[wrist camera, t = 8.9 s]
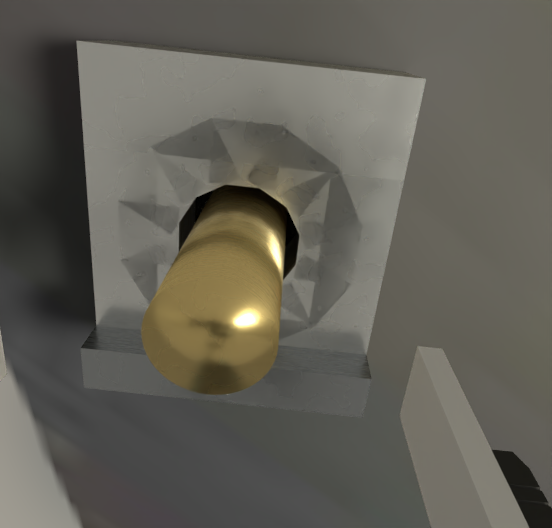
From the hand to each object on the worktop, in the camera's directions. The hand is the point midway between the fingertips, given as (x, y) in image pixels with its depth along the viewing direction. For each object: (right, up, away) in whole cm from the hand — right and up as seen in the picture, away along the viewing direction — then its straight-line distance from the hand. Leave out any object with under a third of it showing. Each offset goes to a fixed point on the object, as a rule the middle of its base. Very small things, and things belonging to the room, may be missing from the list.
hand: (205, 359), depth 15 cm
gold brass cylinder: (+1, +6, +11) cm, 12 cm away
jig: (+1, +6, +11) cm, 12 cm away
